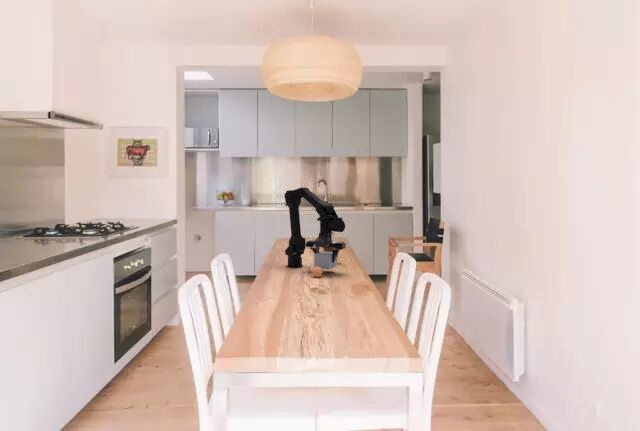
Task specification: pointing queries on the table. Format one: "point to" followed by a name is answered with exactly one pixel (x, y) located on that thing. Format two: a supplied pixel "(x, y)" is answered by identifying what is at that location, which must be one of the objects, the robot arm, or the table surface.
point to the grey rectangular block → (324, 260)
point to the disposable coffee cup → (330, 248)
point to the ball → (316, 271)
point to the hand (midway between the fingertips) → (325, 262)
